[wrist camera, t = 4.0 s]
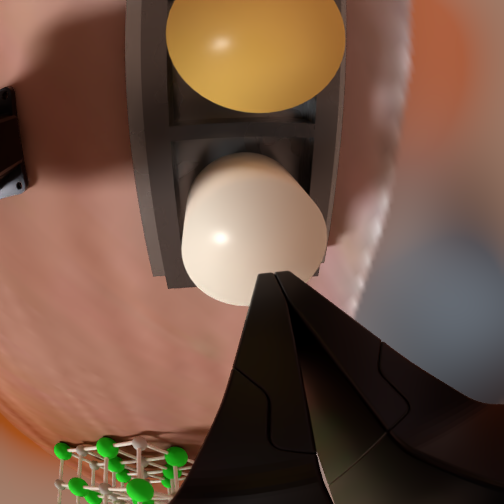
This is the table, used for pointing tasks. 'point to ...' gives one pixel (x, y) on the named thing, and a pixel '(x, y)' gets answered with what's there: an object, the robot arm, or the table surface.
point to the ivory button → (249, 227)
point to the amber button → (256, 50)
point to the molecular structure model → (123, 472)
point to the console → (212, 136)
